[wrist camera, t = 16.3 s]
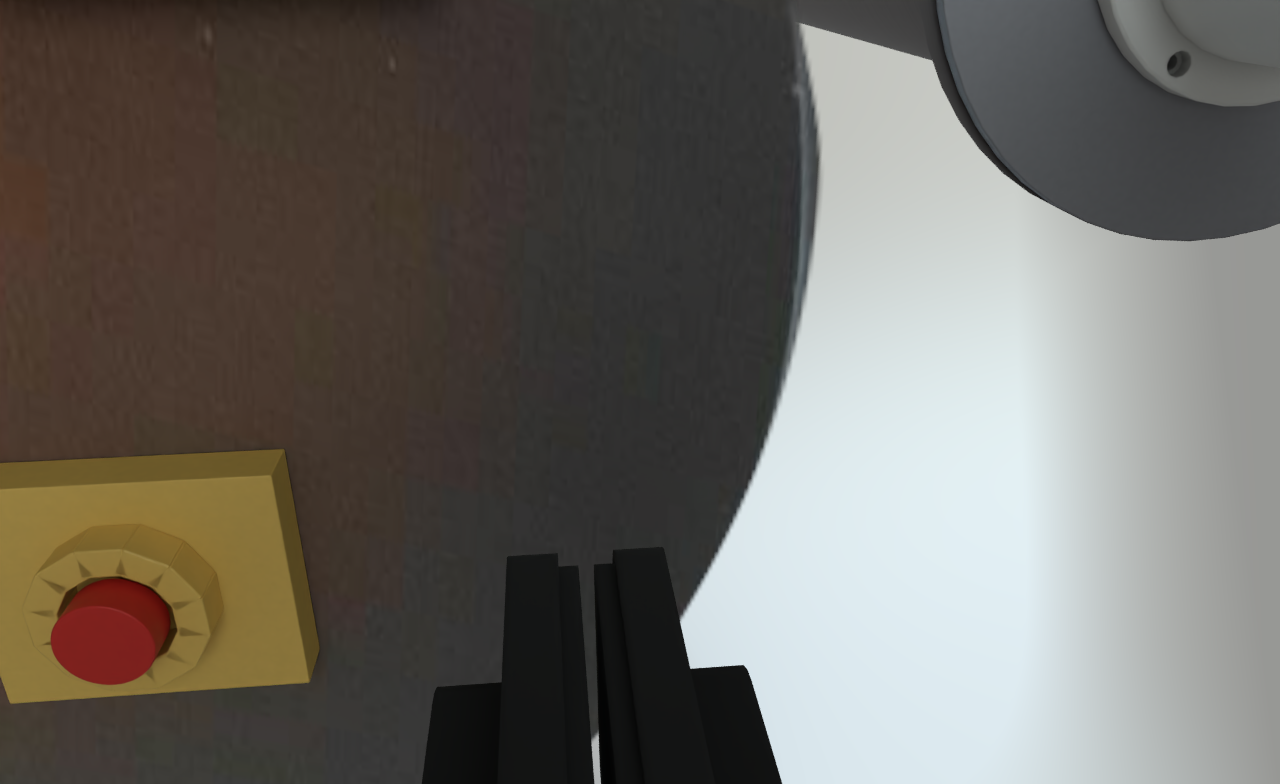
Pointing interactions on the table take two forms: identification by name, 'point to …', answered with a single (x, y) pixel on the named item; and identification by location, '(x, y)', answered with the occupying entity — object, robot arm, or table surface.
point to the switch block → (158, 568)
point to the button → (111, 632)
